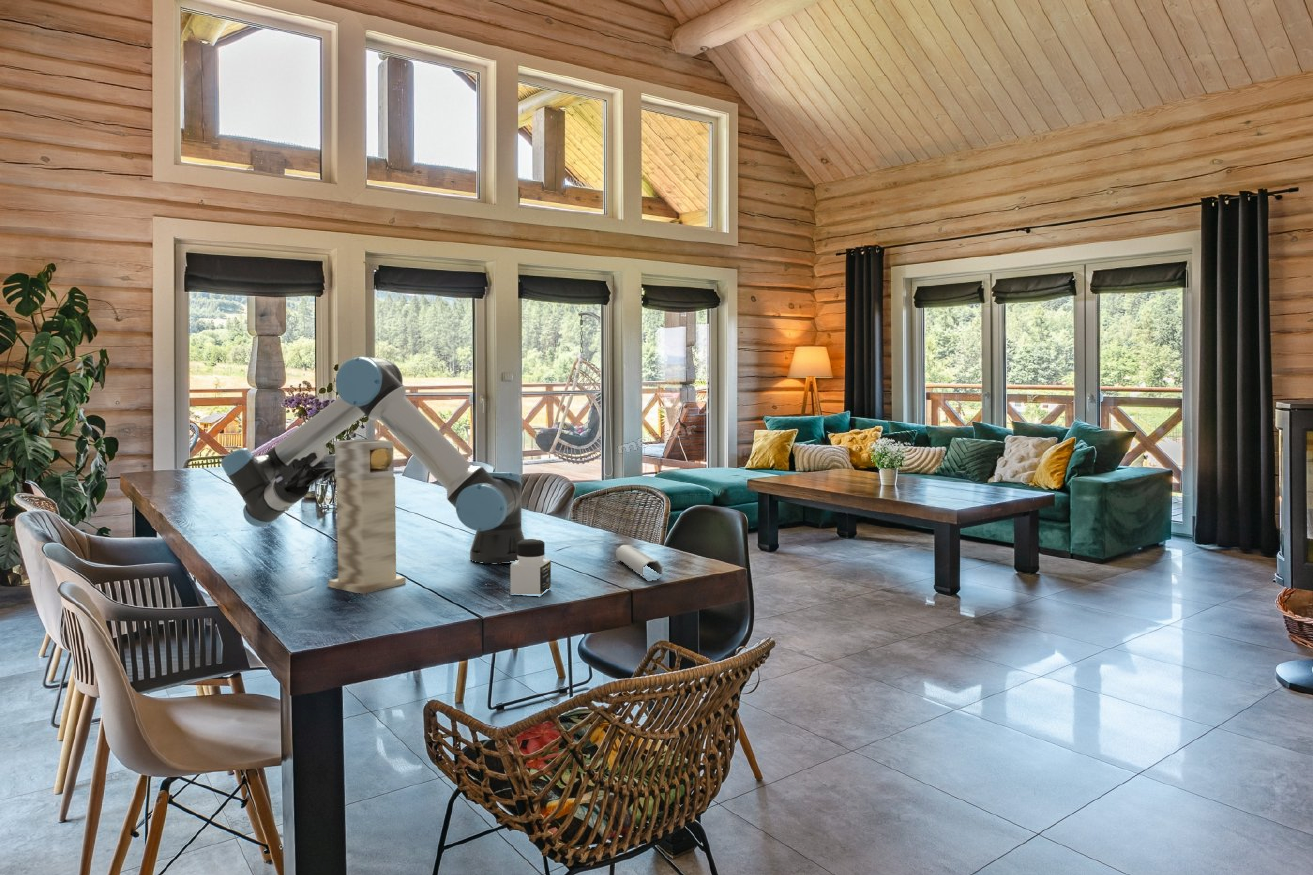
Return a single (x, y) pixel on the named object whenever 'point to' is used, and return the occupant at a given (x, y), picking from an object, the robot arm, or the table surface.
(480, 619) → the table surface
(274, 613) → the table surface
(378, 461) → the plug rod
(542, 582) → the medicine bottle
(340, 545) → the bore stand
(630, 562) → the tube
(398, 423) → the robot arm
